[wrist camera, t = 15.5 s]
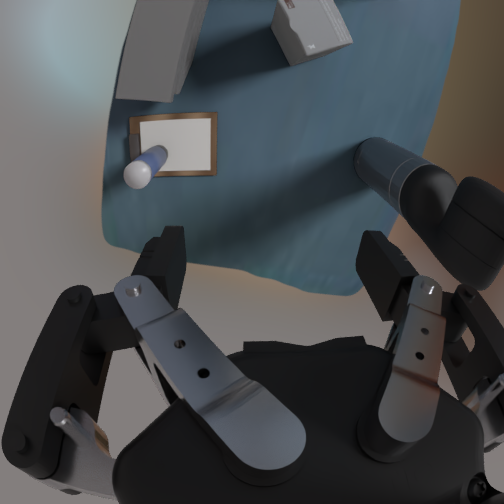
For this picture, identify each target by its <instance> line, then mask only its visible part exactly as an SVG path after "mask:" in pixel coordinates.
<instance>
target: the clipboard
mask: <svg viewBox="0 0 504 504" xmlns="http://www.w3.org/2000/svg"><path fill="white" fill-rule="evenodd" d="M201 118H211V140H210V170H188V171H158V172H157V173H156V174H155V175H154V176H188V175H217V112H194V113H172V114H157V115H145V116H135V117H129V120H130V135H129V146H130V158H131V162H132V161H134V160H135V159H136V158H137V157H139V156H140V155H141V154H142V152H141V136H140V122H146V121H158V120H174V119H201Z"/></svg>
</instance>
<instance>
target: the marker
mask: <svg viewBox="0 0 504 504" xmlns="http://www.w3.org/2000/svg"><path fill="white" fill-rule="evenodd" d="M167 158H168V151H167V149H166V148H165V147H164V146H162V145H156V146H153V147H151V148H149V149H148V150H146V151H145V152H144V153H142V154H141V155H140V156H139V157H137V158H136V159H135V160H134V161H132V162H131V163H130V164H129V165H127V167H126V168H125V170H124V180H125V182H126V183H127V185H128V186H130V187H131V188H134V189H141V188H143V187H145V186H146V185H147V184H148V183H149V181H150V180H151V179H152V178H153V177H154V175H155V174H156V173H157V172H158V171H159V170H160V168H161V167H162V166H163V165H164V164H165V162H166V160H167Z"/></svg>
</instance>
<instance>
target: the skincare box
mask: <svg viewBox="0 0 504 504" xmlns="http://www.w3.org/2000/svg"><path fill="white" fill-rule="evenodd" d="M271 29H272V31H273V33H274V35H275V37H276V39H277V41H278V43H279V45H280V47H281V49H282V51H283V53H284V55H285V57H286V59H287V61H288V63H289V65H290V66H293V65H296V64H300V63H303V62H306V61H309V60H312V59H316V58H319V57H322V56H326V55H328V54H330V53H332V52H334V51H336V50H339V49H341V48H343V47H345V46H348V45H350V44H352V43H353V41H352V38H351V36H350V34H349V31H348V29H347V27H346V25H345V23H344V21H343V19H342V16H341V14H340V12H339V10H338V9H337V7H336V5H335V3H334V1H333V0H278V1H277V5H276V9H275V13H274V16H273V20H272V24H271Z"/></svg>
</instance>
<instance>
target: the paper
mask: <svg viewBox="0 0 504 504" xmlns="http://www.w3.org/2000/svg"><path fill="white" fill-rule="evenodd" d="M140 136H141V152H142V153H144V152H145V151H146V150H148V149H149V148H151V147H153V146H156V145H162V146H164V147H165V148H166V149H167V151H168V158H167V160H166V162H165V164H164V165H163V166H162V167H161V168H160V170H159V171H188V170H210V140H211V118H201V119H174V120H158V121H146V122H140Z"/></svg>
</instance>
